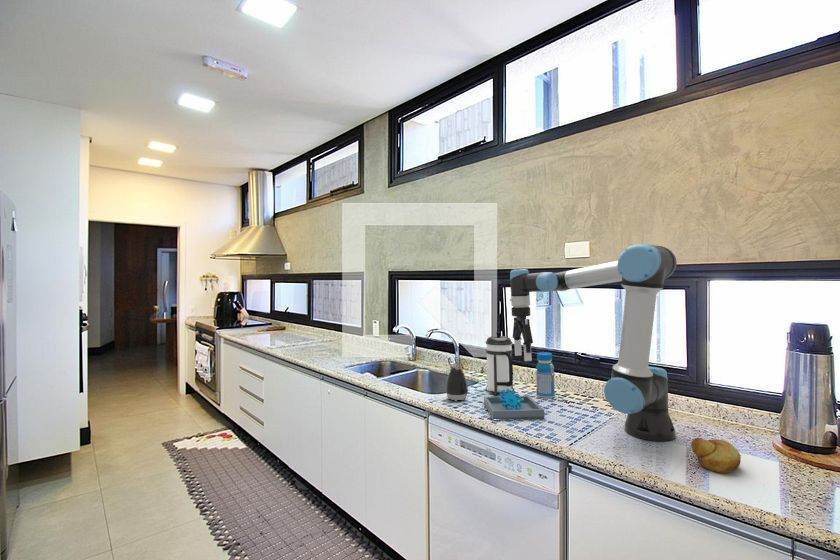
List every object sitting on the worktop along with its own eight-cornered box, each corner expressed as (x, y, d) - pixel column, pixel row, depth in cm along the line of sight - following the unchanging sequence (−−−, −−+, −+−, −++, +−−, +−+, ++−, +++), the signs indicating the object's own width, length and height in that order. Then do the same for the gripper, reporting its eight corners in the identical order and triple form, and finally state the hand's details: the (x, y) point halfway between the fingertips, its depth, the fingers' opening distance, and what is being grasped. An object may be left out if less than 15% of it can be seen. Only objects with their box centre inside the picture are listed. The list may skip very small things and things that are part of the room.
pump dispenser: (462, 395, 187) (461, 363, 187) (471, 401, 177) (470, 367, 177) (442, 397, 184) (441, 365, 184) (451, 404, 174) (450, 369, 174)
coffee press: (478, 394, 188) (477, 332, 189) (492, 387, 201) (490, 328, 202) (512, 399, 178) (511, 334, 179) (525, 391, 191) (523, 330, 192)
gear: (503, 409, 156) (497, 387, 164) (498, 416, 160) (492, 394, 167) (528, 410, 159) (521, 388, 166) (522, 417, 163) (515, 395, 170)
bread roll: (713, 455, 117) (712, 428, 117) (752, 468, 109) (751, 439, 109) (688, 464, 112) (687, 436, 112) (727, 479, 103) (726, 449, 103)
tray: (544, 419, 152) (544, 409, 152) (493, 420, 152) (492, 411, 152) (529, 403, 172) (529, 395, 172) (484, 404, 172) (483, 396, 172)
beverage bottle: (541, 399, 178) (540, 355, 179) (533, 394, 187) (532, 352, 187) (558, 397, 180) (557, 354, 180) (549, 393, 188) (548, 351, 188)
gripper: (504, 306, 174) (506, 353, 173) (520, 308, 149) (522, 363, 148) (520, 305, 174) (523, 353, 174) (539, 307, 149) (542, 363, 149)
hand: (523, 358), depth 161 cm, fingers open, 13 cm apart
